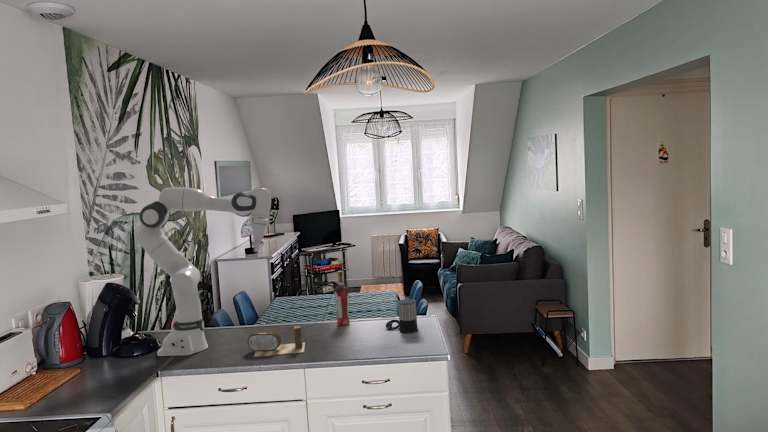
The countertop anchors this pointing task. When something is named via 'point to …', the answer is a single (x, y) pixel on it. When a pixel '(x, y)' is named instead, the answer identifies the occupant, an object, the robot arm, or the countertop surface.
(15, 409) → the countertop surface
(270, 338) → the tin
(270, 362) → the countertop surface
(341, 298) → the liquor
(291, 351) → the light wood stand
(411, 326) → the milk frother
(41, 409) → the countertop surface
